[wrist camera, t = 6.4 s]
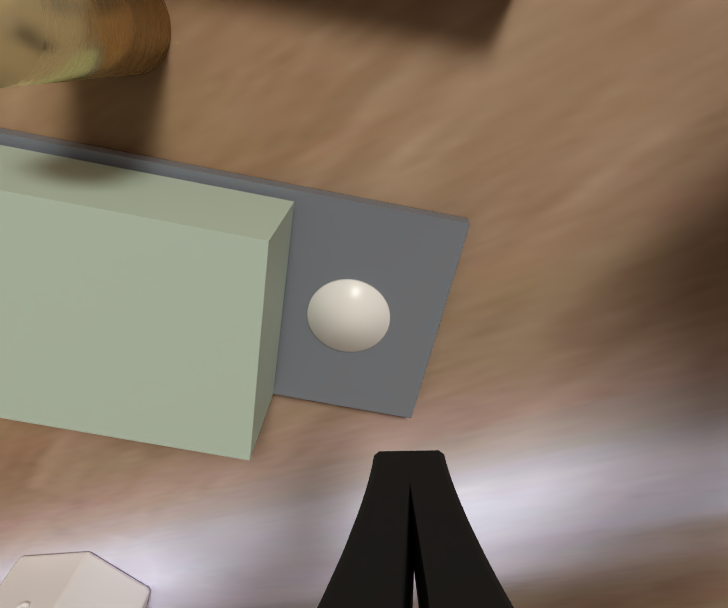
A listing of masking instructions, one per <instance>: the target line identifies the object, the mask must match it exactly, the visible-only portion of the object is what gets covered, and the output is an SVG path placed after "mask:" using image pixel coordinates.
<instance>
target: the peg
mask: <svg viewBox="0 0 728 608" xmlns="http://www.w3.org/2000/svg"><path fill="white" fill-rule="evenodd" d="M170 38H171V25H170V18H169V14H168V10H167V7H166V5H165V2H164V0H0V88H5V87H15V86H25V85H36V84H46V83H56V82H66V81H76V80H86V79H96V78H106V77H116V76H126V75H136V74H143V73H146V72H148V71H150V70H152V69H154V68H155V67H156V66H157V65H158V64H159V63H160V62H161V61H162V60H163V58H164V57H165V55H166V53H167V50H168V47H169V44H170Z"/></svg>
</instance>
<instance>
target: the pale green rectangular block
mask: <svg viewBox="0 0 728 608" xmlns="http://www.w3.org/2000/svg"><path fill="white" fill-rule="evenodd" d="M293 210H294V201H289V200H284V199H279V198H274V197H269V196H263V195H258V194H253V193H248V192H243V191H237V190H232V189H227V188H222V187H217V186H211V185H206V184H201V183H196V182H191V181H185V180H180V179H175V178H170V177H165V176H159V175H154V174H149V173H144V172H139V171H133V170H128V169H123V168H118V167H113V166H108V165H102V164H97V163H92V162H87V161H82V160H76V159H71V158H66V157H61V156H56V155H50V154H45V153H40V152H35V151H30V150H24V149H19V148H14V147H9V146H4V145H0V418H5V419H11V420H16V421H22V422H28V423H34V424H40V425H46V426H51V427H57V428H63V429H69V430H75V431H81V432H86V433H92V434H98V435H104V436H110V437H116V438H121V439H127V440H133V441H139V442H145V443H151V444H156V445H162V446H168V447H174V448H180V449H186V450H191V451H197V452H203V453H209V454H215V455H221V456H226V457H232V458H238V459H244V460H250V458H251V456H252V453H253V450H254V447H255V444H256V441H257V438H258V435H259V433H260V430H261V427H262V424H263V421H264V418H265V415H266V413H267V410H268V407H269V404H270V401H271V398H272V395H273V391H274V382H275V373H276V364H277V355H278V346H279V337H280V328H281V319H282V310H283V301H284V292H285V283H286V274H287V265H288V255H289V246H290V237H291V228H292V219H293Z"/></svg>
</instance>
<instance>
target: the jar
mask: <svg viewBox="0 0 728 608" xmlns="http://www.w3.org/2000/svg"><path fill="white" fill-rule="evenodd" d="M149 593H150V590H149V588H148V587H147V586H145V585H144V584H142V583H140V582H139V581H137V580H135V579H134V578H132V577H130V576H129V575H127V574H125V573H124V572H122V571H121V570H119V569H117V568H116V567H114V566H112V565H111V564H109V563H107V562H106V561H104V560H102V559H101V558H99V557H98V556H96V555H94V554H93V553H91V552H77V553H62V554H48V555H32V556H23V557H21V558H19V559H18V561H17V562H16V563H15V565H14V566H13V567H12V569H11V570H10V572H9V573H8V574H7V576H6V577H5V578H4V580H3V581H2V582H1V584H0V608H146V606H147V602H148V597H149Z"/></svg>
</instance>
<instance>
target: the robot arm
mask: <svg viewBox="0 0 728 608" xmlns="http://www.w3.org/2000/svg"><path fill="white" fill-rule="evenodd" d="M414 573H415V581H416V589H417V597H418V605H419V608H514V607H513V606H512V604H511V602H510V600H509V598H508V597H507V595H506V593H505V591H504V589H503V588H502V586H501V584H500V582H499V581H498V579H497V577H496V575H495V573H494V571H493V569H492V567H491V566H490V564H489V562H488V560H487V558H486V556H485V554H484V552H483V550H482V548H481V546H480V544H479V542H478V540H477V538H476V536H475V534H474V531H473V529H472V527H471V525H470V523H469V521H468V519H467V517H466V514H465V512H464V510H463V507H462V505H461V503H460V500H459V498H458V495H457V493H456V490H455V488H454V485H453V482H452V480H451V477H450V474H449V471H448V467H447V464H446V460H445V456H444V454H443V453H441V452H440V451H439V450H435V451H379V452H378V453H377V454H375V455H374V459H373V464H372V469H371V473H370V477H369V481H368V484H367V488H366V491H365V494H364V497H363V500H362V503H361V506H360V509H359V512H358V515H357V517H356V520H355V523H354V525H353V528H352V530H351V533H350V536H349V538H348V541H347V543H346V546H345V548H344V551H343V553H342V555H341V558H340V560H339V562H338V564H337V566H336V569H335V571H334V573H333V575H332V577H331V580H330V582H329V584H328V586H327V588H326V591H325V593H324V595H323V597H322V599H321V601H320V603H319V605H318V607H317V608H412V607H413V583H414Z"/></svg>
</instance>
